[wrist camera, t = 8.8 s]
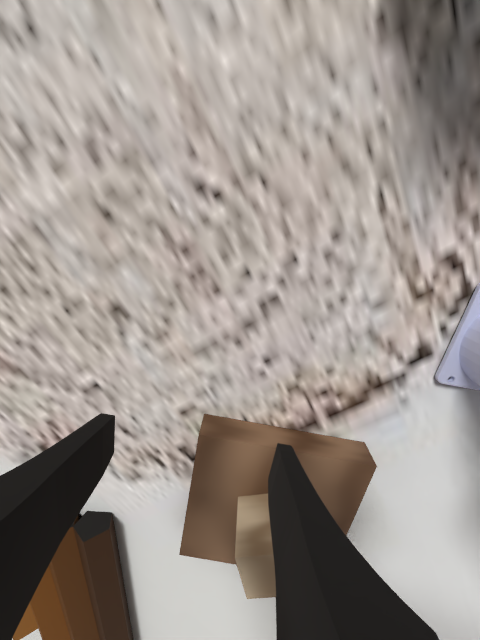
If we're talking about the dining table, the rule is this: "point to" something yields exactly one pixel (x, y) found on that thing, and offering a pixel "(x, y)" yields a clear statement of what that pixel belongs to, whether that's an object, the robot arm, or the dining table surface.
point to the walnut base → (264, 478)
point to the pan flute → (81, 587)
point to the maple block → (255, 547)
